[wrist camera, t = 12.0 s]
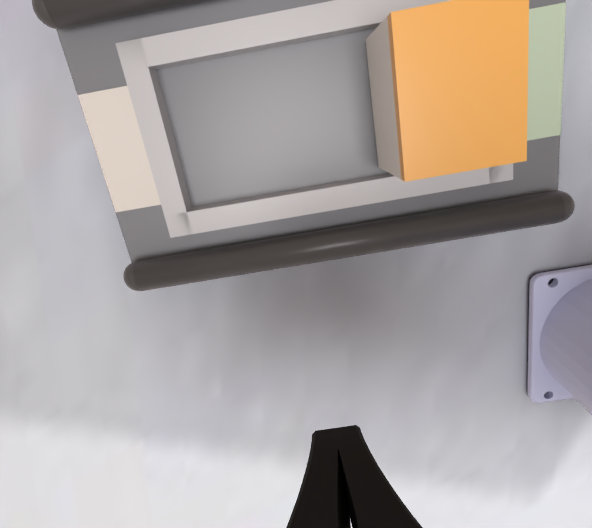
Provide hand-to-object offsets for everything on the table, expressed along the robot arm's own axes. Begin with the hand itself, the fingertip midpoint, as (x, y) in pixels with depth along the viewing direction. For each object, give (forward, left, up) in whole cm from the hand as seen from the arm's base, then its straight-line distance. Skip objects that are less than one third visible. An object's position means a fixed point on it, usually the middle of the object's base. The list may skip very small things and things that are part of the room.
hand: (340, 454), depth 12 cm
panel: (-2, -9, -10) cm, 14 cm away
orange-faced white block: (-6, -9, -9) cm, 14 cm away
